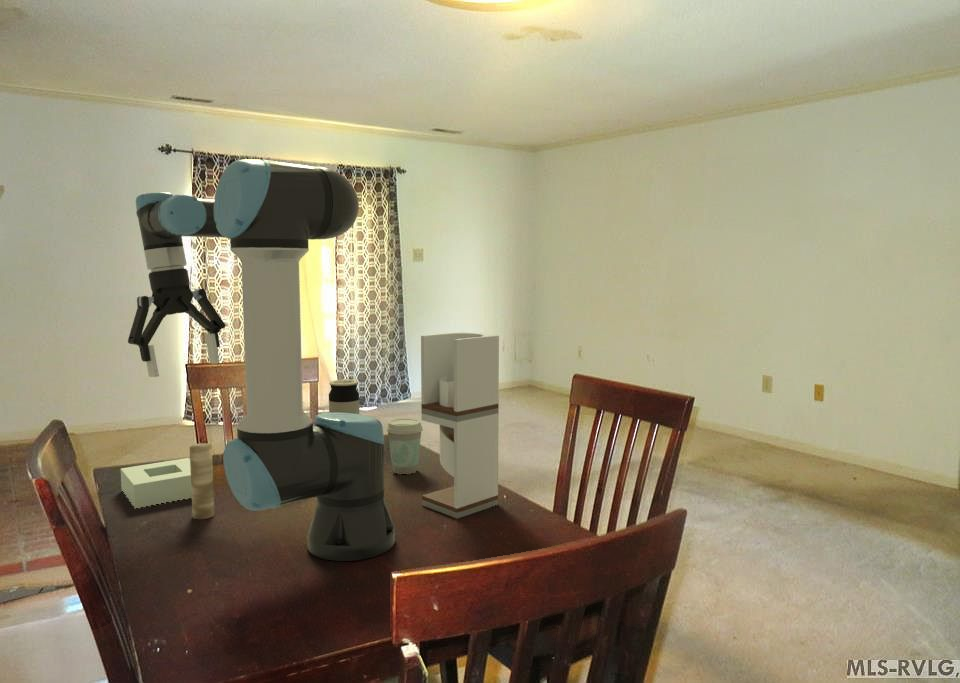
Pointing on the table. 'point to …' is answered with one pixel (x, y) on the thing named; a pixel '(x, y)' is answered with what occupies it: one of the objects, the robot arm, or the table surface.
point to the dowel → (202, 481)
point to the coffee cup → (404, 444)
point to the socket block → (157, 482)
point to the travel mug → (344, 397)
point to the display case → (463, 417)
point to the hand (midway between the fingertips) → (185, 369)
